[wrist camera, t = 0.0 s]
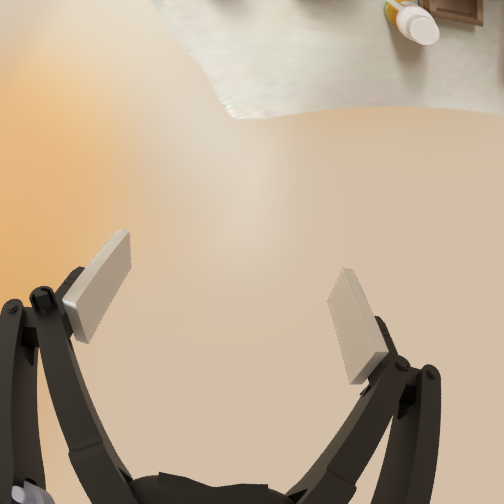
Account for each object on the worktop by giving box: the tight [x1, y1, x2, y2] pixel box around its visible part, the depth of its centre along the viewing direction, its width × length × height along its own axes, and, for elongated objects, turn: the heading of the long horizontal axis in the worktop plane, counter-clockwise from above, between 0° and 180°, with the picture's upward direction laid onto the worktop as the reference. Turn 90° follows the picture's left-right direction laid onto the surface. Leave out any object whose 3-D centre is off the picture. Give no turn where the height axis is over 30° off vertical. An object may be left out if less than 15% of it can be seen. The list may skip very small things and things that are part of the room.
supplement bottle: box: [384, 0, 440, 46], centre depth 19 cm, size 5×5×10 cm
